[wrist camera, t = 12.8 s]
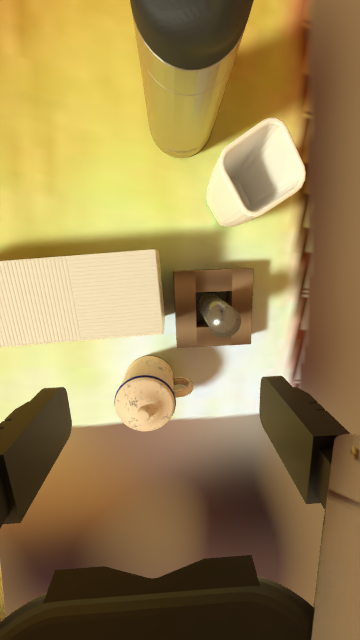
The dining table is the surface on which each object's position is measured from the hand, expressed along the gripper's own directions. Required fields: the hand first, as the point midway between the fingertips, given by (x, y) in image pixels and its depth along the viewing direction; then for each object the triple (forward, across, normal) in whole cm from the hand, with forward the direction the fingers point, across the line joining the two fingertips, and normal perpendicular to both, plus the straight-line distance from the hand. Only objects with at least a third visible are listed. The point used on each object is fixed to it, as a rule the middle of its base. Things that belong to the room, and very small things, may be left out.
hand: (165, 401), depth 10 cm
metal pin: (+32, -7, +2) cm, 33 cm away
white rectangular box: (+33, +17, -1) cm, 37 cm away
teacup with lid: (+32, +3, +15) cm, 36 cm away
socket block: (+32, -7, +2) cm, 33 cm away
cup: (+32, -10, -14) cm, 37 cm away
